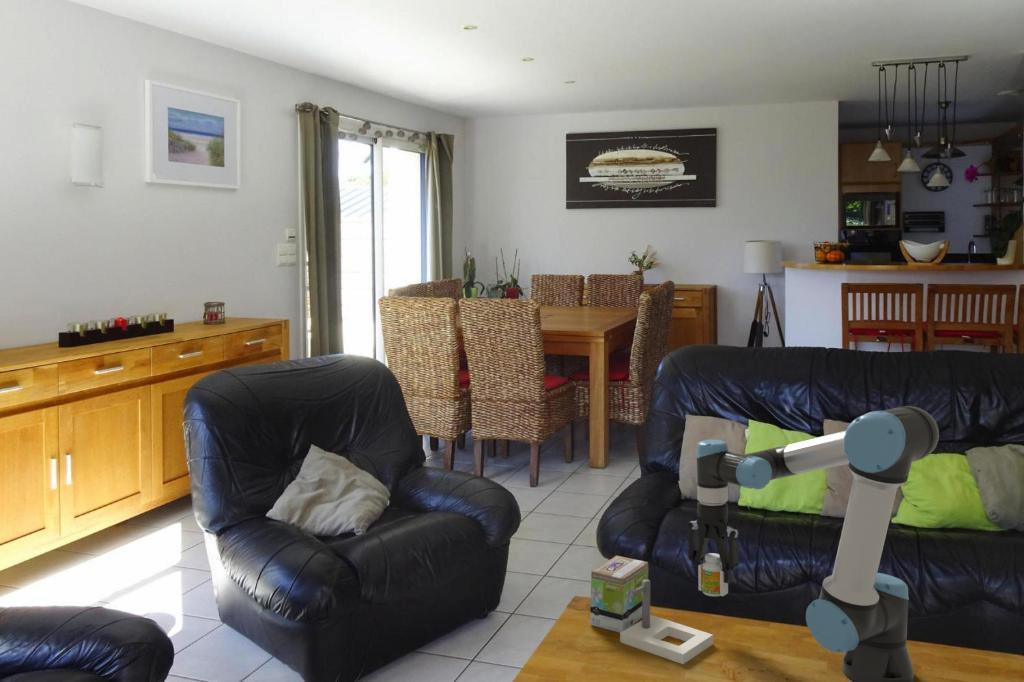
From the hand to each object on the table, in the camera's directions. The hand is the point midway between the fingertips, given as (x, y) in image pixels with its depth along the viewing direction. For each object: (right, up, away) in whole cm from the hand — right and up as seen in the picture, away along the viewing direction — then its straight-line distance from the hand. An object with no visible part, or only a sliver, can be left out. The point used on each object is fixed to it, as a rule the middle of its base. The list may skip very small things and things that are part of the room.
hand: (713, 591), depth 224 cm
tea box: (-23, -10, +10) cm, 27 cm away
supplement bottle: (0, -1, 0) cm, 1 cm away
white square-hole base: (-13, -12, -5) cm, 18 cm away
